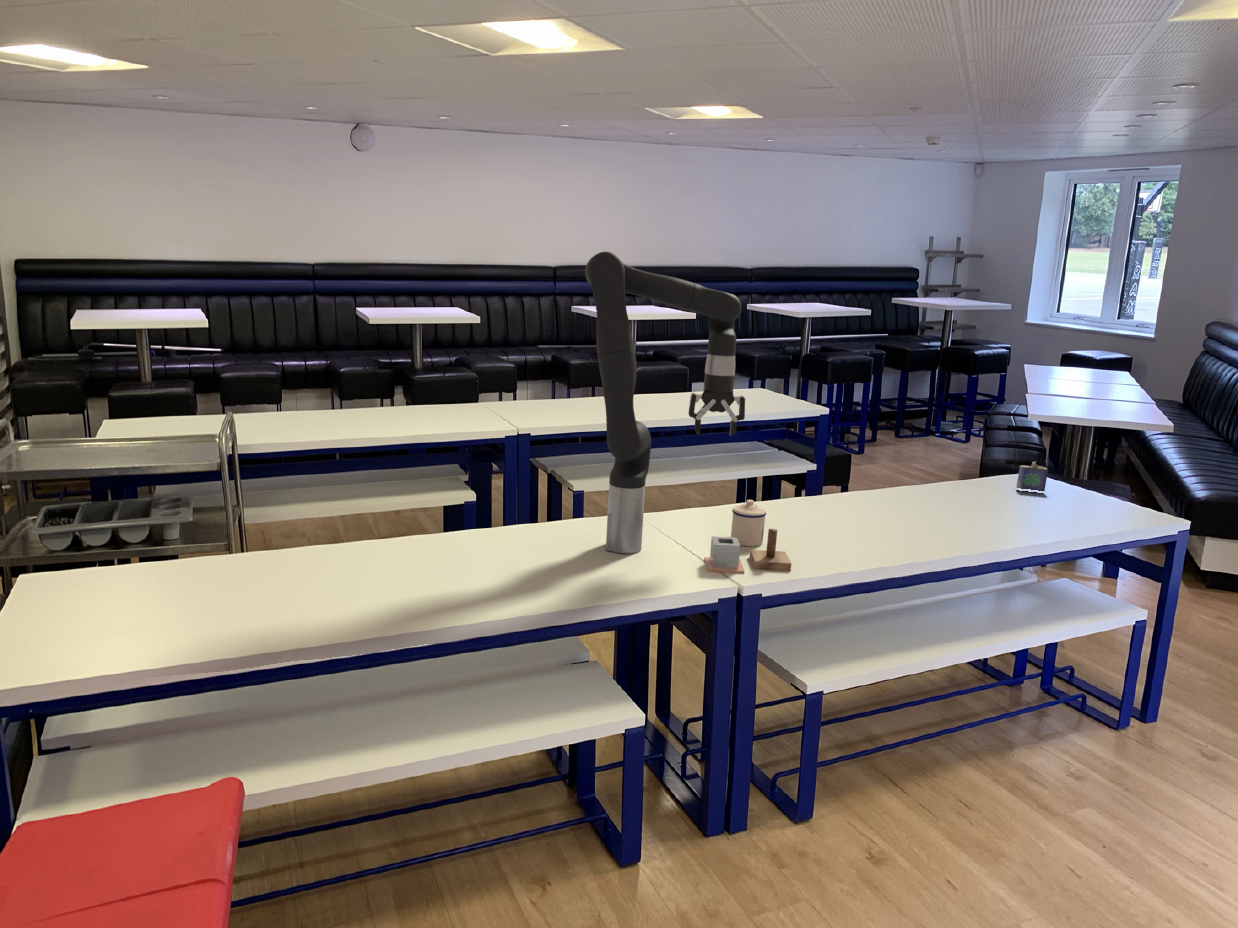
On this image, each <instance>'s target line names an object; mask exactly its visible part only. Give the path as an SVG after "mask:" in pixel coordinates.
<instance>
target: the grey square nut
mask: <svg viewBox="0 0 1238 928" xmlns="http://www.w3.org/2000/svg"><path fill="white" fill-rule="evenodd" d="M710 539H711V541H710V555H709V557H710V561H711V565H712V568H726V569H738V566H739V559H740V553H741V545H740V544H739V541H738V539H737V538H732V537H731V536H730V537H729V536H728V537H727V536H711V538H710Z"/></svg>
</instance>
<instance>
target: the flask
mask: <svg viewBox="0 0 1238 928" xmlns="http://www.w3.org/2000/svg"><path fill="white" fill-rule="evenodd" d="M1031 463H1032V464H1031V465H1020V466H1019V469H1018V475H1017V480H1016V481H1017V482H1016V487H1017V488H1021V489H1031V490H1038V491H1044V492H1045V491H1046V490H1045V489H1046V484H1047V478H1048V472H1049V469H1048V468H1047V467H1045V466H1042V465H1038V464H1036V463H1037V461H1032V462H1031Z"/></svg>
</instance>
